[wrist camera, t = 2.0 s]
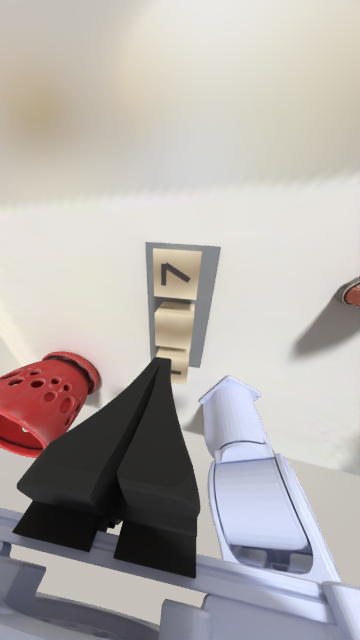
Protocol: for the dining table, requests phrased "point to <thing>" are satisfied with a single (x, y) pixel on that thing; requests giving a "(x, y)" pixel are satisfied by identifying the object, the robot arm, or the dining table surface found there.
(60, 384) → the plant pot
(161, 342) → the plain block
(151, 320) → the felt strip
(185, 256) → the block seven
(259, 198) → the dining table surface
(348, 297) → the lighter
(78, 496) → the robot arm
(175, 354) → the block one
